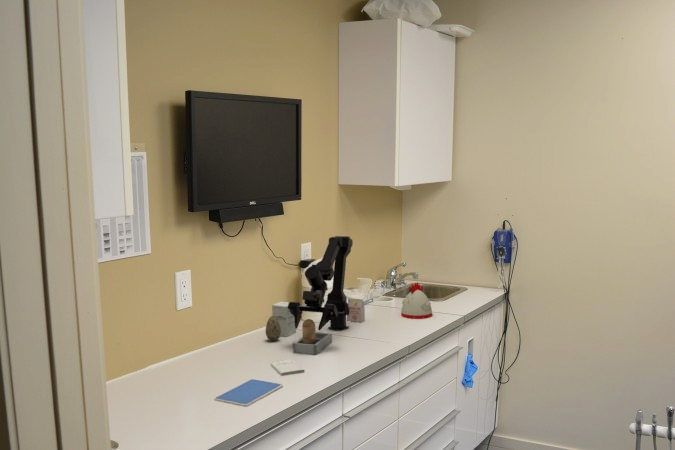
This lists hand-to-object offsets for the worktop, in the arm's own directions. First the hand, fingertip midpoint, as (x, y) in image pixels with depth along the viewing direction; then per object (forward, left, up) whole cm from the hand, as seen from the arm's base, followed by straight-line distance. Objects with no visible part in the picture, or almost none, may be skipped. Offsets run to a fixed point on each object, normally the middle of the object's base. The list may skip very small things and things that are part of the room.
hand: (307, 329), depth 243 cm
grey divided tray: (-5, -2, -9) cm, 10 cm away
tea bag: (-46, -15, -9) cm, 49 cm away
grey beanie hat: (-71, 0, -9) cm, 72 cm away
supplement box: (-12, -25, -9) cm, 29 cm away
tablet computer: (+43, +16, -9) cm, 47 cm away
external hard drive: (+19, +8, -9) cm, 23 cm away
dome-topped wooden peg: (-1, 0, -8) cm, 8 cm away
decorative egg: (-2, -21, -9) cm, 23 cm away
